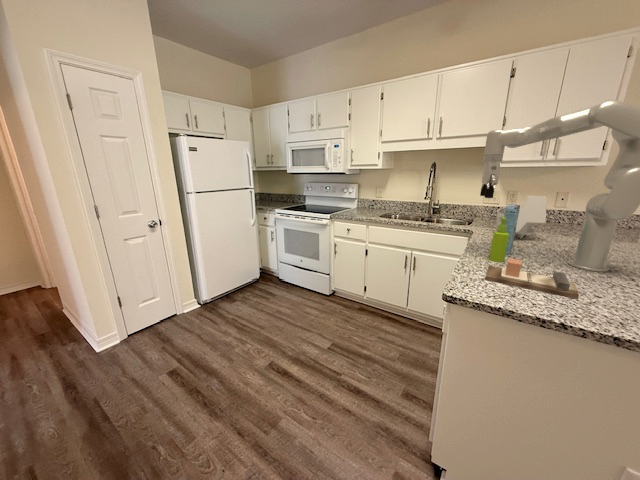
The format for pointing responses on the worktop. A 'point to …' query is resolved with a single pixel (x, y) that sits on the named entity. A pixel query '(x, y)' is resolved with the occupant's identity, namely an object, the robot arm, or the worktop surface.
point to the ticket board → (538, 282)
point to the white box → (527, 215)
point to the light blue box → (511, 224)
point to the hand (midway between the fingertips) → (486, 196)
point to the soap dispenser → (499, 242)
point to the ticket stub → (514, 271)
